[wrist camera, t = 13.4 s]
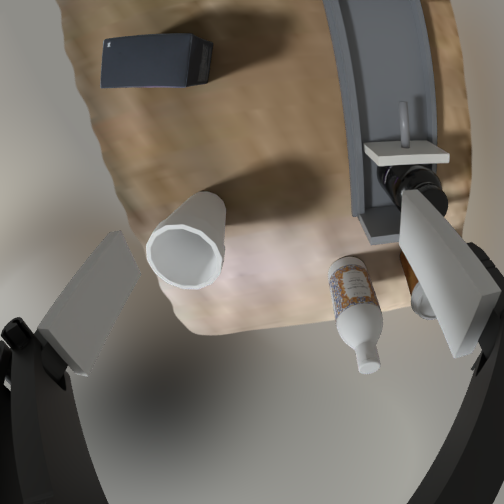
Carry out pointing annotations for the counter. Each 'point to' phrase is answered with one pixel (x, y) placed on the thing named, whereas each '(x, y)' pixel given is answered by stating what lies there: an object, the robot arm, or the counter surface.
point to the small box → (155, 61)
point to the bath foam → (356, 310)
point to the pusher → (405, 147)
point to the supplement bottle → (412, 184)
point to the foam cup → (190, 243)
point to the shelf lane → (381, 94)
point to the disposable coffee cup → (417, 292)
